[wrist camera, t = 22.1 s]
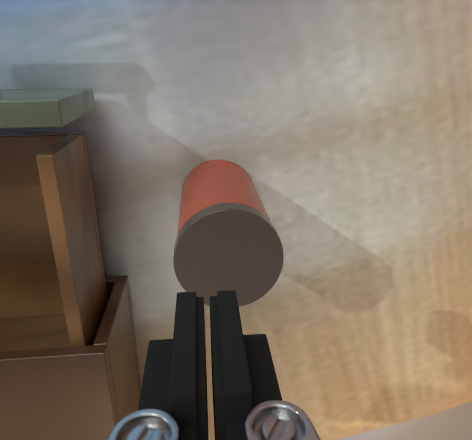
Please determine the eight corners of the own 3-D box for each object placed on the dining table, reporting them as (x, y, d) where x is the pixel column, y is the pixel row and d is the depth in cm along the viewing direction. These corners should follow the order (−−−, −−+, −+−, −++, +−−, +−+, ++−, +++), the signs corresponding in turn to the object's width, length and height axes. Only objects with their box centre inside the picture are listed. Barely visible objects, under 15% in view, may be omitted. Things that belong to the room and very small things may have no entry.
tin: (178, 159, 28) (169, 211, 19) (255, 157, 28) (285, 207, 19) (182, 231, 30) (177, 311, 21) (255, 228, 30) (282, 305, 21)
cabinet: (-86, 286, 30) (-190, 372, 22) (127, 275, 31) (104, 353, 23) (-29, 459, 36) (-94, 576, 28) (147, 444, 37) (134, 553, 29)
